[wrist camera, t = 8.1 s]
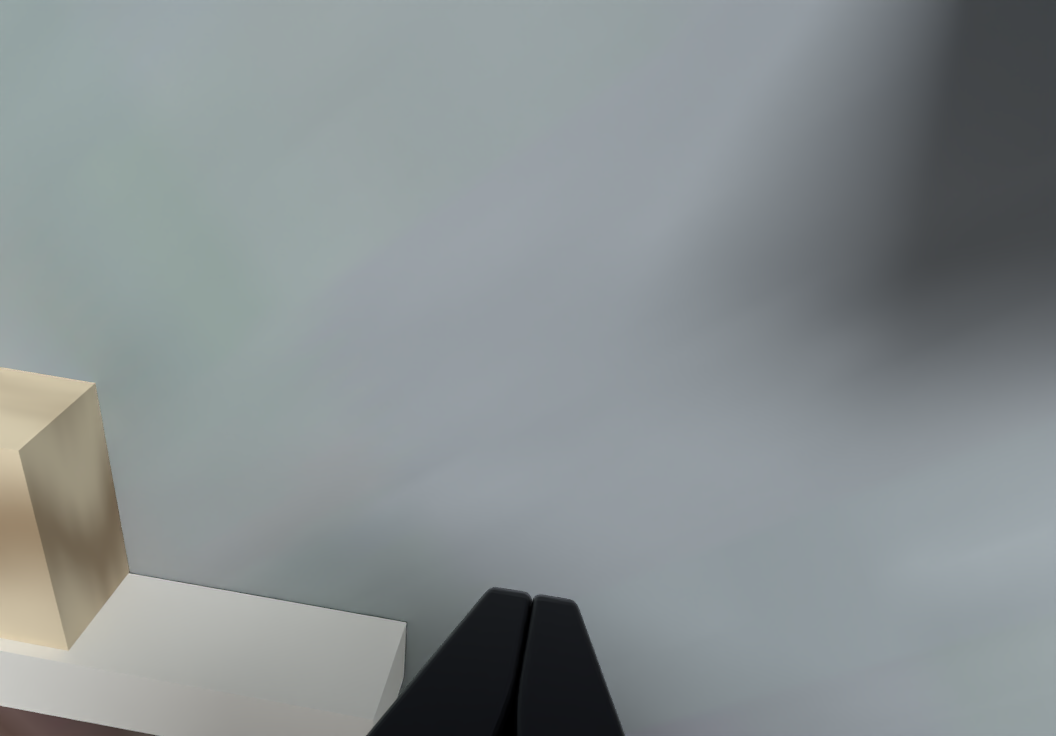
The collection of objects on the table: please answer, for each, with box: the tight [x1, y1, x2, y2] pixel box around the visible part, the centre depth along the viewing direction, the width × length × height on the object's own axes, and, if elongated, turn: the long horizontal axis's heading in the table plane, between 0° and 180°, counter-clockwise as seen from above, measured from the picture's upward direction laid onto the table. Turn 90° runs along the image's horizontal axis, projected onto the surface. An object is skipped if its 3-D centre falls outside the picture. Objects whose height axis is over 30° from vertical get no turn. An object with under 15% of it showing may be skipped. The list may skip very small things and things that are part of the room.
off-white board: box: [0, 573, 406, 736], centre depth 25 cm, size 2×19×4 cm, turn 84°
